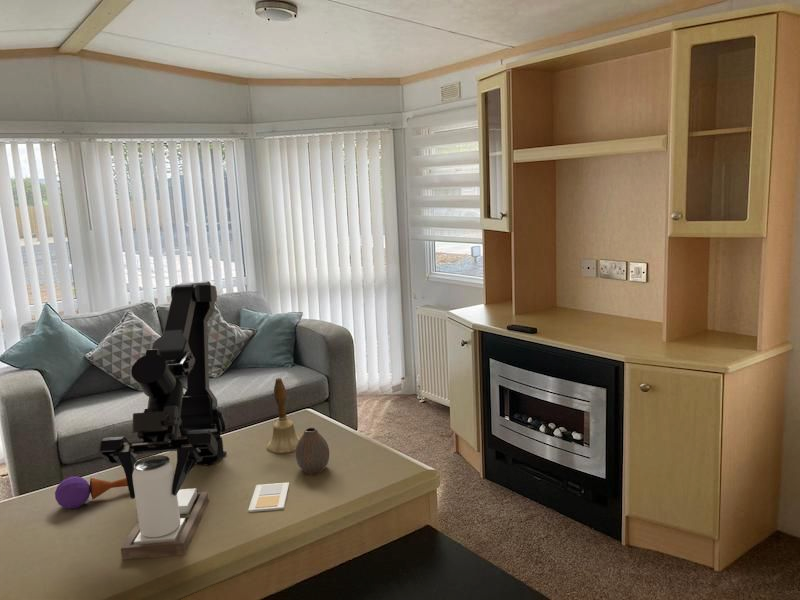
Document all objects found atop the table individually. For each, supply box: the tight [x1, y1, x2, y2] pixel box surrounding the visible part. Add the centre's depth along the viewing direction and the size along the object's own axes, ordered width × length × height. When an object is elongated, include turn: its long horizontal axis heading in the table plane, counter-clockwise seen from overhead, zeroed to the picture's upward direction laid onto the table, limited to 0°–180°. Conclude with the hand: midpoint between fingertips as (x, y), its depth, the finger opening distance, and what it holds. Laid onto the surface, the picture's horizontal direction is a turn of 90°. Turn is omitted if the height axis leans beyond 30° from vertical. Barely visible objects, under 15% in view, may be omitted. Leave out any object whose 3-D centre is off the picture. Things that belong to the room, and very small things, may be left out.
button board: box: [120, 491, 210, 560], centre depth 114 cm, size 18×10×2 cm, turn 4°
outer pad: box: [134, 518, 186, 545], centre depth 110 cm, size 7×7×2 cm
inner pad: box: [177, 488, 198, 515], centre depth 118 cm, size 7×7×2 cm
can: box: [132, 454, 181, 538], centre depth 109 cm, size 6×6×12 cm
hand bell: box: [266, 377, 301, 454], centre depth 146 cm, size 8×8×16 cm
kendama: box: [54, 475, 128, 510], centre depth 128 cm, size 6×6×20 cm
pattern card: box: [247, 481, 290, 513], centre depth 124 cm, size 10×6×1 cm, turn 4°
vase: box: [295, 427, 330, 475], centre depth 134 cm, size 7×7×9 cm
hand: (153, 496), depth 107 cm, fingers closed on can, 6 cm apart
